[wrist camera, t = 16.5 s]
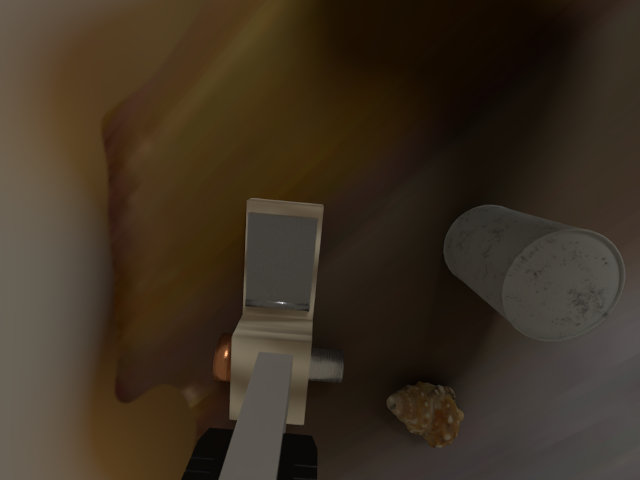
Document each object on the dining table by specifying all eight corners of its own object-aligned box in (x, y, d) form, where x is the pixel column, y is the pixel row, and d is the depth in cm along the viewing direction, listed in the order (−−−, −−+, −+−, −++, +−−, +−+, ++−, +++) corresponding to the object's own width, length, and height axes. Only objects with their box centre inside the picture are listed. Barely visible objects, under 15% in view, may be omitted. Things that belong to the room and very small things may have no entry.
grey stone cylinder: (456, 295, 39) (517, 357, 27) (432, 223, 36) (488, 255, 24) (534, 267, 38) (634, 318, 26) (515, 191, 36) (615, 209, 24)
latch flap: (250, 211, 33) (247, 214, 32) (318, 217, 33) (317, 220, 32) (247, 303, 36) (245, 308, 35) (309, 308, 36) (308, 313, 35)
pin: (226, 324, 39) (213, 349, 34) (342, 334, 39) (345, 360, 34) (225, 362, 40) (212, 391, 35) (337, 370, 40) (340, 401, 35)
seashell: (386, 405, 46) (370, 439, 37) (407, 354, 46) (396, 376, 37) (451, 443, 43) (451, 492, 34) (475, 388, 42) (481, 422, 33)
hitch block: (251, 197, 36) (235, 207, 29) (323, 204, 36) (324, 216, 29) (244, 376, 41) (229, 419, 34) (306, 381, 41) (303, 425, 35)
